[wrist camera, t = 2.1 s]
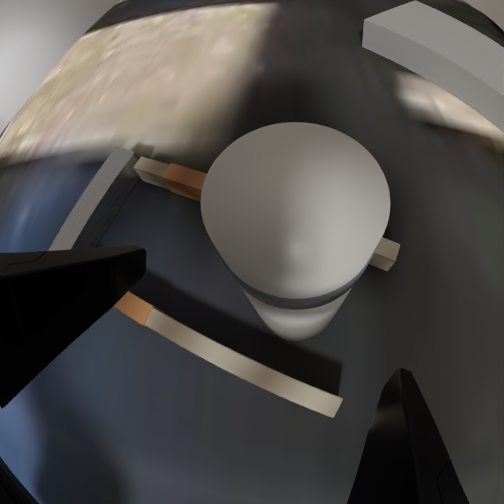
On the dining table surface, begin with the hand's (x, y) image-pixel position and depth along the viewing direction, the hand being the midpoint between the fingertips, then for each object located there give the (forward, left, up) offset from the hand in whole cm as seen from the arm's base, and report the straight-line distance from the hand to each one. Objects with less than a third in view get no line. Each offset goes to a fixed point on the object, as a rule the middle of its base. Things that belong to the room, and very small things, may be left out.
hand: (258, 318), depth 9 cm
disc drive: (+39, +12, -11) cm, 42 cm away
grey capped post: (+2, +2, -10) cm, 11 cm away
